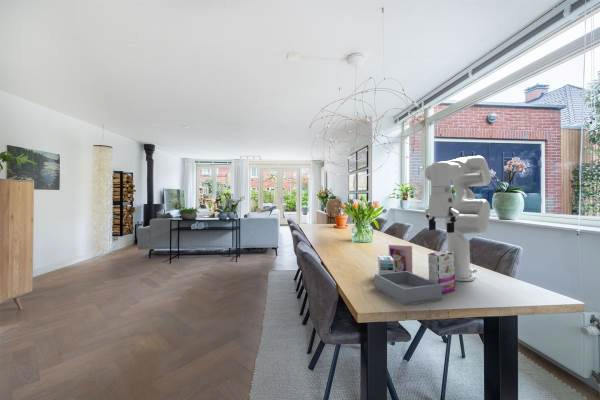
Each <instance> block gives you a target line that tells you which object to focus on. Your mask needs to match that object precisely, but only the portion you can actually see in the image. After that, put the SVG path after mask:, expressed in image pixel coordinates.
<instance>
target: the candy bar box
mask: <svg viewBox="0 0 600 400" xmlns="http://www.w3.org/2000/svg"><path fill="white" fill-rule="evenodd" d="M427 254H428V255H427V256H428V262H427V263H428V279H429V280H431V281H434V282H436V283H439V284H441V285H442V295H444V294H447V293H449V292H453V291H456V280H455V262H454V252H450V251H447V250H439V251H434V252H430V253H427Z"/></svg>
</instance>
